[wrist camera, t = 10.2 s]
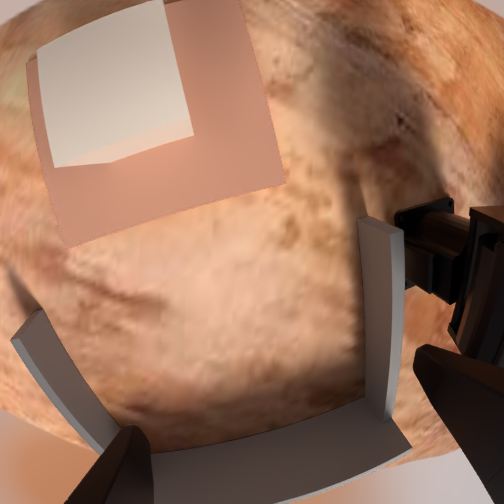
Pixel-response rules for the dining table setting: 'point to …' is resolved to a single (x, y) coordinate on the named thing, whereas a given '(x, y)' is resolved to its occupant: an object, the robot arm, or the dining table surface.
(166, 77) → the ivory block
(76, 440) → the dining table surface
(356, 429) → the open u-shaped enclosure
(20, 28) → the dining table surface
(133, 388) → the dining table surface
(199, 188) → the terracotta mat
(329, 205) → the dining table surface
